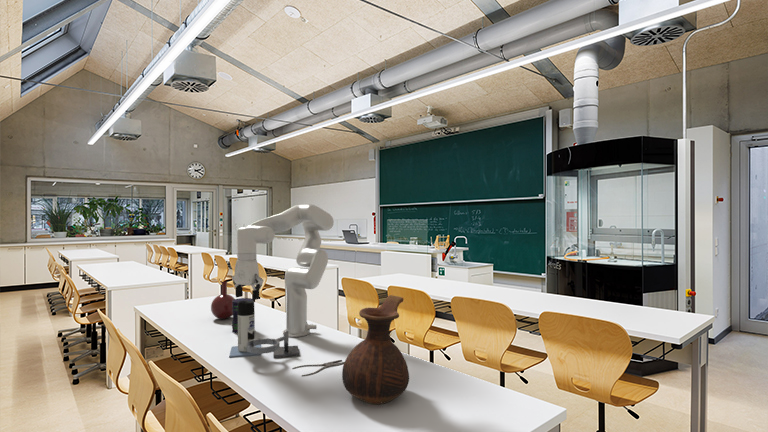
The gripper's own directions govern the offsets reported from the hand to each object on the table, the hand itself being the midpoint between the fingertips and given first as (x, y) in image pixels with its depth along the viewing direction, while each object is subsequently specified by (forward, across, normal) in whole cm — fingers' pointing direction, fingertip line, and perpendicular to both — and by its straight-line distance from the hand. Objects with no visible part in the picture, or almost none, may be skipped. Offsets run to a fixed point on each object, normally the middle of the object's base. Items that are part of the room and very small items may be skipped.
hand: (247, 298), depth 172 cm
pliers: (+23, +36, +1) cm, 43 cm away
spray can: (+22, 0, -1) cm, 22 cm away
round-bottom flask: (+23, -51, +30) cm, 63 cm away
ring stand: (+22, +16, -1) cm, 27 cm away
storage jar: (+23, -25, +19) cm, 39 cm away
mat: (+22, 0, -1) cm, 22 cm away
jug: (+22, +67, -9) cm, 71 cm away
